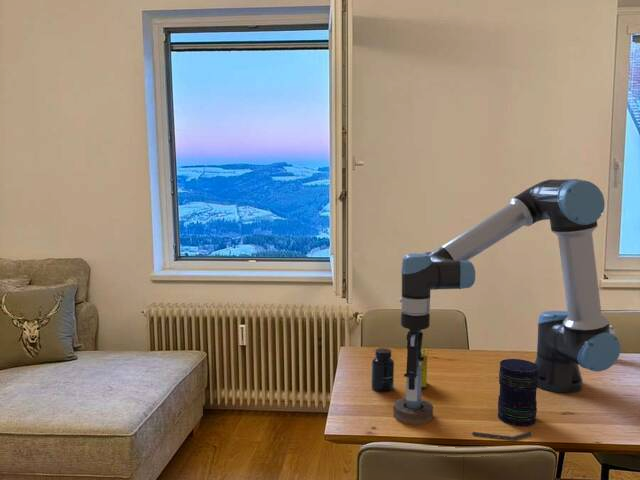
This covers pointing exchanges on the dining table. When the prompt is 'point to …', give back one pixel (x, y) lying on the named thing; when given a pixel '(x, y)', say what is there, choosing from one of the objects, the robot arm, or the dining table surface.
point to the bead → (413, 412)
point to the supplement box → (424, 369)
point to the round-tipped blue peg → (417, 404)
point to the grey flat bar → (503, 435)
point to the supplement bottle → (382, 371)
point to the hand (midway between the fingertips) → (413, 391)
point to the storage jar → (518, 392)
